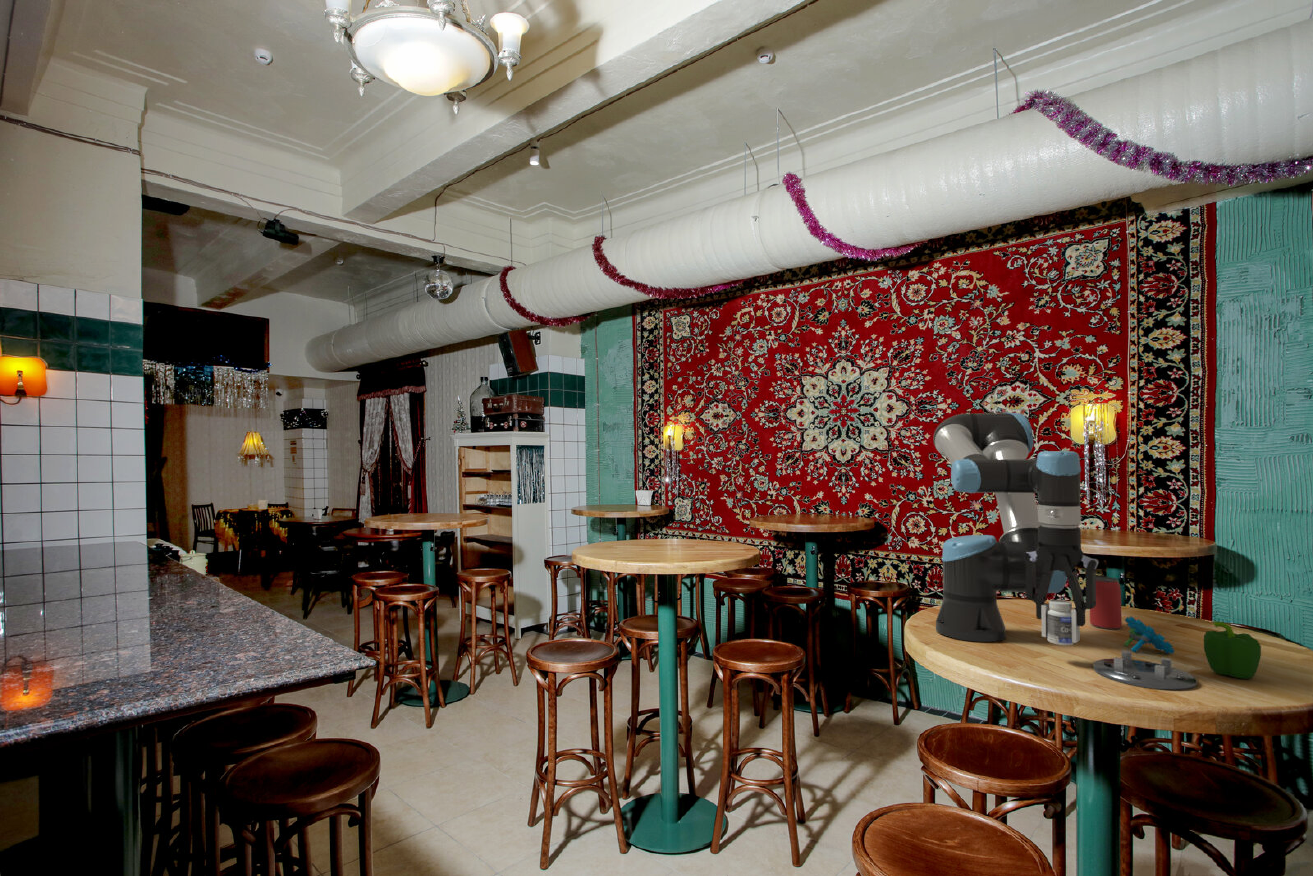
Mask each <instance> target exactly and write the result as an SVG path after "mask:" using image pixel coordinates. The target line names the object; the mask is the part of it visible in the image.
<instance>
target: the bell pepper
mask: <svg viewBox="0 0 1313 876" xmlns="http://www.w3.org/2000/svg"><path fill="white" fill-rule="evenodd" d="M1212 623H1213V625H1214V627H1215V628H1218V627H1220V628H1221V627H1222V628H1223V629H1225V630H1222V631H1216V630H1206V632H1205V633H1204V635H1203V651H1204V654H1205V657H1206V660H1207V663H1208V665H1209V668H1210V669H1211V670H1212V672H1214V673H1215V674H1219V675H1223V676H1228V677H1229V676H1231V677H1234V678H1236V679H1245V680H1246V679H1247V680H1248V679H1252V678H1253V677H1254V676H1255V674H1256V673H1257V671H1258V670H1257V669H1258V668H1259V666H1260V661H1261V657H1262V646H1261V644H1260V642H1259V641H1258V639H1256V638H1254V637H1253V636H1252V635H1250V634H1249V633H1245V632H1244V633H1234V630H1233V629H1232V627H1231V626H1230V625H1229V624H1227V623H1225V622H1221V621H1214V622H1212Z"/></svg>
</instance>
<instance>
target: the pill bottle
mask: <svg viewBox="0 0 1313 876" xmlns="http://www.w3.org/2000/svg"><path fill="white" fill-rule="evenodd" d="M1072 603H1073V602H1071V601H1067V600H1062V599H1050V600H1049V601H1048V604H1049V610H1048V611H1047V637H1046V639H1047V641H1048V642H1049V643H1051V644H1055V645H1059V646H1073V645H1075V643H1073V642H1072V616H1071V610H1072V609H1073V607H1072V605H1073V604H1072Z"/></svg>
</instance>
